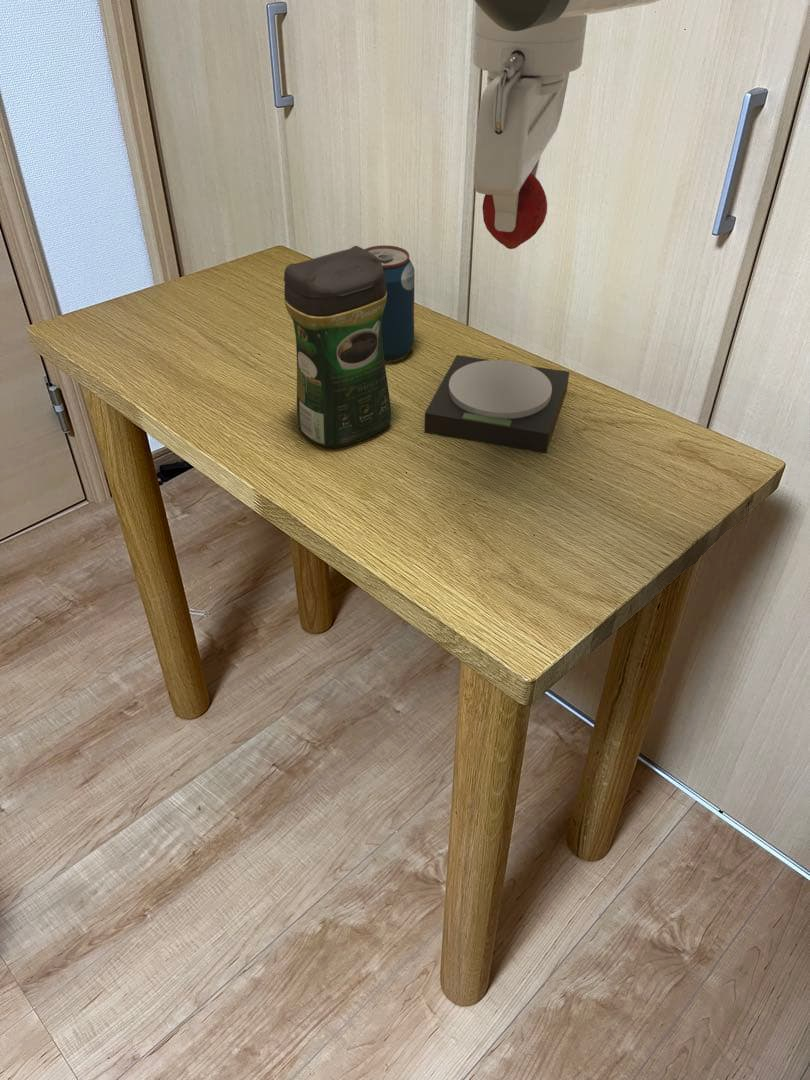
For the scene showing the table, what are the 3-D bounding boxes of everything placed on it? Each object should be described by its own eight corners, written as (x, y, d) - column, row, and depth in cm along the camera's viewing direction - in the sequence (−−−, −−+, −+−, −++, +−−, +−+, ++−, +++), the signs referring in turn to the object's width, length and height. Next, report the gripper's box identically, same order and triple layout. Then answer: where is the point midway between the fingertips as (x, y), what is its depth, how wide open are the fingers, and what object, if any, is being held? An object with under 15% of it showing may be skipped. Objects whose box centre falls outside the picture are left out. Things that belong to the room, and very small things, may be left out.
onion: (545, 261, 77) (555, 169, 72) (481, 261, 77) (487, 169, 72) (539, 236, 81) (548, 148, 76) (478, 236, 81) (483, 148, 76)
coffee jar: (361, 396, 95) (354, 232, 83) (402, 428, 90) (401, 258, 78) (285, 424, 91) (266, 255, 79) (324, 459, 86) (311, 284, 74)
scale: (566, 390, 96) (570, 365, 94) (546, 453, 87) (549, 426, 84) (455, 373, 99) (456, 348, 97) (424, 432, 90) (424, 406, 87)
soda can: (425, 351, 103) (427, 254, 95) (385, 371, 99) (384, 273, 91) (385, 332, 107) (383, 238, 99) (345, 352, 103) (340, 255, 95)
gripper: (544, 72, 60) (526, 262, 69) (586, 20, 75) (566, 182, 84) (458, 66, 61) (451, 253, 70) (515, 16, 76) (503, 176, 85)
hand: (514, 214), depth 77 cm, fingers closed on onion, 6 cm apart
